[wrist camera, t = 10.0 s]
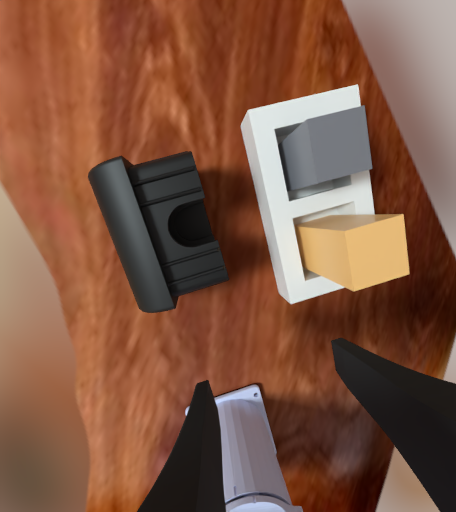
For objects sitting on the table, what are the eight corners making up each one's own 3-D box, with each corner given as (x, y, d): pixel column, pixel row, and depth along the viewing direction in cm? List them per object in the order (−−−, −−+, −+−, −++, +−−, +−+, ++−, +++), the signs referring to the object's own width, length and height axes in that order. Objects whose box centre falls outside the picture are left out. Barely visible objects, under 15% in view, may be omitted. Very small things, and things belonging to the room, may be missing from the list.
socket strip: (359, 268, 24) (417, 286, 18) (278, 293, 23) (309, 321, 17) (335, 103, 21) (395, 53, 14) (240, 125, 20) (260, 84, 14)
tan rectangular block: (336, 254, 23) (409, 274, 15) (299, 265, 22) (353, 291, 15) (330, 215, 22) (403, 214, 14) (291, 225, 22) (344, 231, 14)
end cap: (110, 184, 19) (66, 168, 13) (191, 163, 20) (187, 136, 13) (150, 291, 21) (129, 324, 15) (222, 269, 22) (233, 291, 15)
